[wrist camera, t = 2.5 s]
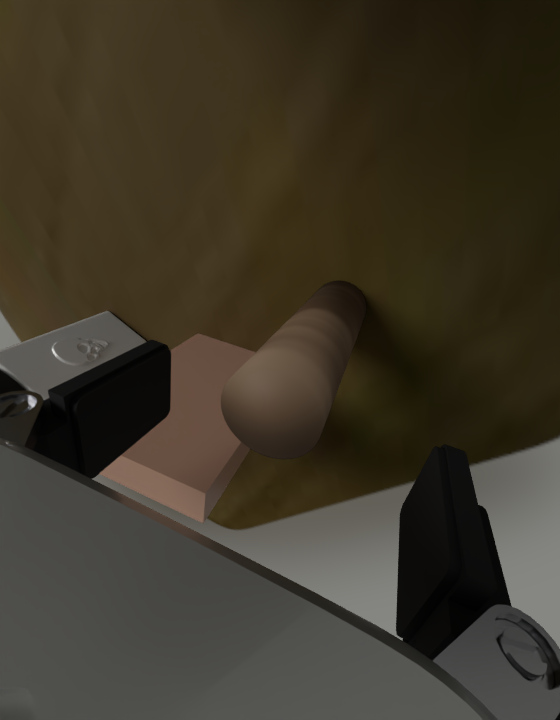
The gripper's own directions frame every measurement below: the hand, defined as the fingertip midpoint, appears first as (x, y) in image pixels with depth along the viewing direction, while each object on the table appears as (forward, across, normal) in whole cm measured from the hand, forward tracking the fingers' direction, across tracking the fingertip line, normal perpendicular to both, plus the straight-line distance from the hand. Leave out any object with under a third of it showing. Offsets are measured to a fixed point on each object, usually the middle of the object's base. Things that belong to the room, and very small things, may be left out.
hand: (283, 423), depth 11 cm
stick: (+11, 0, -1) cm, 11 cm away
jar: (+12, +18, +9) cm, 24 cm away
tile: (+11, +6, +5) cm, 14 cm away
